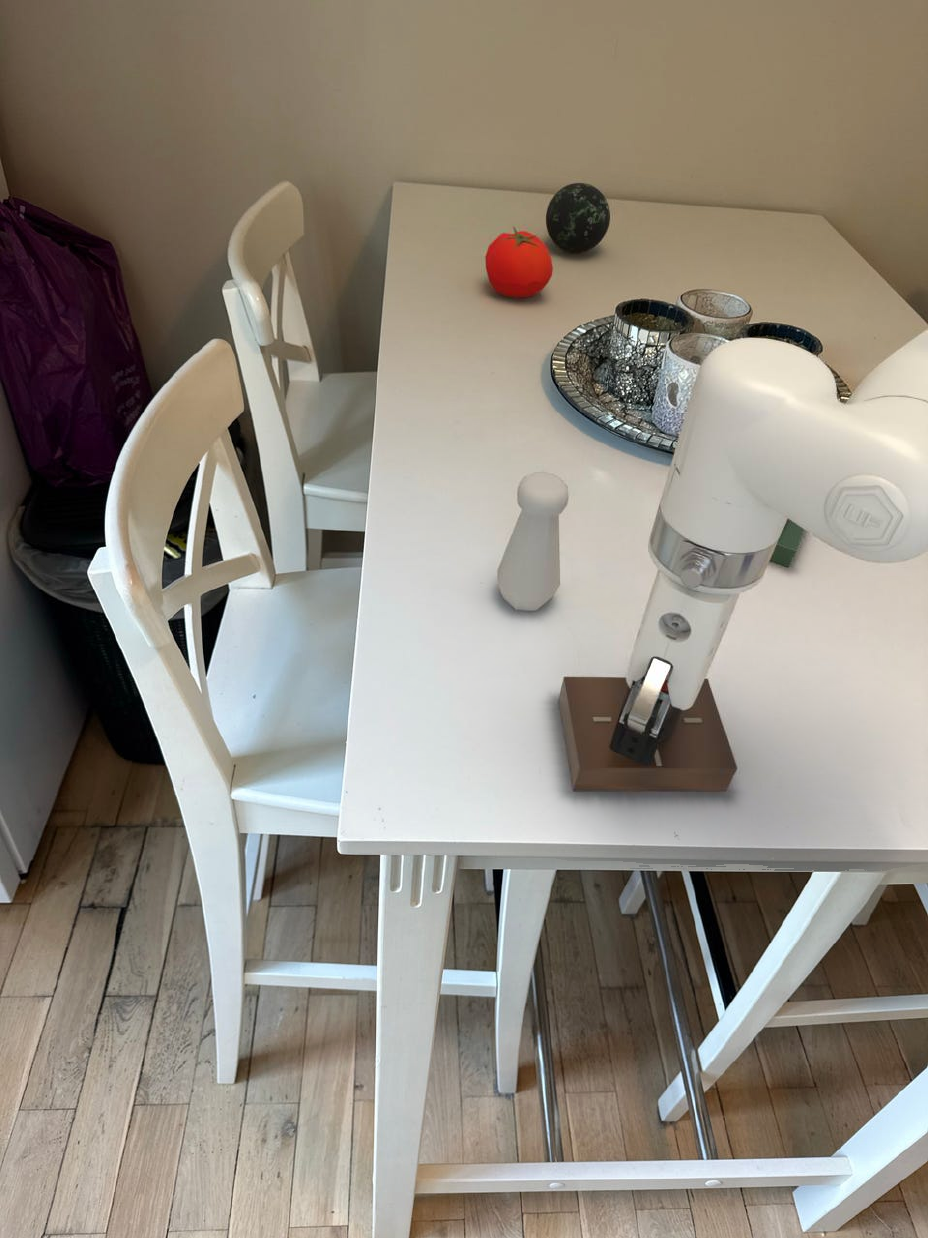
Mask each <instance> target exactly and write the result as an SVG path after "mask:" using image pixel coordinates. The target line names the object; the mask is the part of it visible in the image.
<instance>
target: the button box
mask: <svg viewBox="0 0 928 1238" xmlns="http://www.w3.org/2000/svg"><path fill="white" fill-rule="evenodd" d="M804 532H805V530H804V529H803V528H802V527H800V526H799V525H797V524H796V523H794V522H793V521H791V520H790V519H787V521H786V523H785V526H784V528H783V531H782V533H781V535H780V537H779V540H778V542H777V545H776V547H775V549H774V552H773V554H772V556H771V559H770V561H769V562H772V563H775V564H777V565H780V566H784V567H786V568H790V566H791V564H792V561H793V560H794V557H795V555H796V553H797V550H798V548H799V544H800V542H801V540H802V538H803V537H802V536H803V534H804Z"/></svg>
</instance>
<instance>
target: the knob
mask: <svg viewBox="0 0 928 1238" xmlns="http://www.w3.org/2000/svg"><path fill="white" fill-rule="evenodd" d="M646 675H647V672H646V674H645V675H644V678H643V680H642V682H644V680H645V678H646ZM667 683H668V680H666V681H665V683H664V685H663V688H662V690H664V691H667V692H669V691H668V685H667ZM632 688H633V686H632ZM632 688H630V687H629V686H628V688H627V691H626V694H625V697H624V700H623V704H622V707H621V710H624V708H625V705H626V703H627V700H628V698H629V695H630V693H631V690H632ZM662 702H663V701H661V700H659V699H657V702H656V704H655V706H654V709H653V711H652V714H651V717H653V718H655V719H656V716H657V714H658V712H659V709H660V707H661V704H662ZM621 710H620V712H621ZM682 711H683V710H681V709H679V708H676V707H673V706H672V704H670V706H669V709H668V711H667V714H666V716H665V718H664V721H663V723H662V727H663V728H665V729H664V732H663V734H662V737H661V739H660V742H662V741H664V740H667V739H668V738H670V737H671V736H672V735H673V733H674V732H675V729H676V727H677V724H678V722H679V719H680V716H681V714H682Z"/></svg>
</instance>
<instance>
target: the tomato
mask: <svg viewBox="0 0 928 1238" xmlns="http://www.w3.org/2000/svg"><path fill="white" fill-rule="evenodd" d="M512 227H513V231H514V233H508V232H507V233H506V232H502V233H501V234H499V235H498V236H497V237H496V238H495V239H494V240H493V241H492V242H491V243H490V244H489V245H488V247H487V251H486V254H485V256H484V257H485V259H484V260H485V271H486V274H487V278H488V281H489V284H490V286H491V287H492V289H493V290H494V291H495V292H496V293H497V294H499V295H502V296H506V297H509V298H517V299H518V298H519V299H520V298H521V299H522V298H525V297H532V296H535V295H536V294H538V293H540V292H541V291H543V290H544V289H545V287H546V286H547V285H548V284H549V282H550V281H551V278H552V277H553V271H554V266H553V260H552V256H551V254H550V252H549V249H548V246H547V245H546V244H545V243H544V242H543V241H542V240H541V239H540V238H539V236H538V235H537V234H533V233H531V232H529V231H524V230H522V231H521V230H519V231H518V230H517V229H516V227H515V226H514V225H512Z"/></svg>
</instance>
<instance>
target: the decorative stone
mask: <svg viewBox="0 0 928 1238" xmlns="http://www.w3.org/2000/svg"><path fill="white" fill-rule="evenodd" d="M610 223H611V211H610V206H609V203H608V201H607V198H606V197H605V195H604V194H603V193H602V192H601V190H599V189H598V188H596V186H594V185H593V184H589V183H585V182H574V183H570V184H567V185H565V186H563V187H561V188H560V189H559V190H558V191H557V192H556V193H555V194H554V195H553V196H552V198H551V199H550V201H549V203H548V205H547V208H546V212H545V226H546V231H547V234H548V236H549V238H550V240H551V241H552V242H553V244H554V245H555V246H556V247H558V248H559V249H560V250H562V251H564V252H567V253H571V254H581V253H586V252H589V251H590V250H593V249H594V248H595V247H596V246H598V245H599V244H600V243H601V242H602V240H604V238H605V236H606V235H607V233H608V230H609V227H610Z"/></svg>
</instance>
